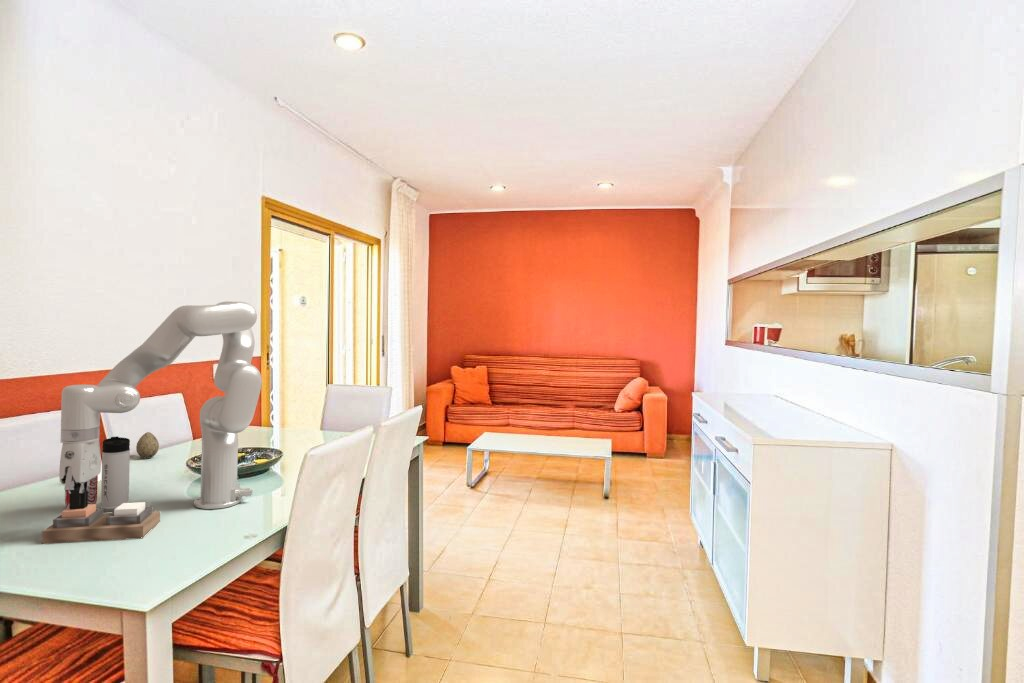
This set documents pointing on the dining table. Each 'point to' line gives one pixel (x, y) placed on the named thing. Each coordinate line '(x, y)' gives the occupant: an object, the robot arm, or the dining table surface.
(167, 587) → the dining table surface
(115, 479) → the travel mug
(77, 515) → the terracotta key
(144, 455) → the decorative egg
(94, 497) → the soda can
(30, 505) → the dining table surface
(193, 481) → the dining table surface
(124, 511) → the white key
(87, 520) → the board
